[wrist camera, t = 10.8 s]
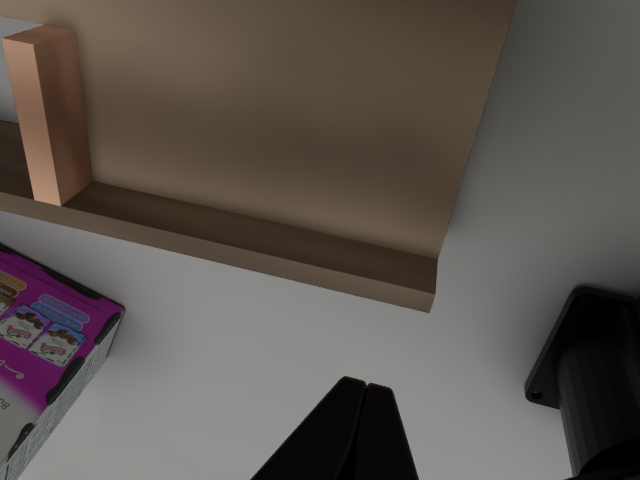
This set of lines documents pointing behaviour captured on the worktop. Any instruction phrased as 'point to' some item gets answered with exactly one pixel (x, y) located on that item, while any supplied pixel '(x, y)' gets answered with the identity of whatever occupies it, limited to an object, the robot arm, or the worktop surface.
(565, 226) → the worktop surface
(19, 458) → the candy bar box
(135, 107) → the brown wooden tray
